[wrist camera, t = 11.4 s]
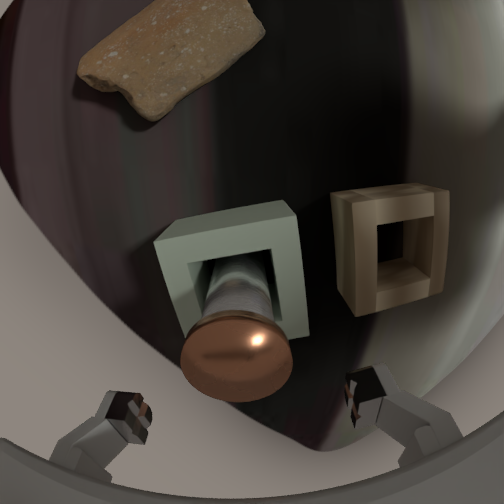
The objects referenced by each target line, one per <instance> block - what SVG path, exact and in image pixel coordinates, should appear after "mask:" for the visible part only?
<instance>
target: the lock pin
mask: <svg viewBox="0 0 504 504" xmlns="http://www.w3.org/2000/svg"><path fill="white" fill-rule="evenodd" d="M180 364H181V369H182V372H183V374H184V376H185V377H186V379H187V380H188V381H189V383H190V384H191V385H192V386H193V387H195V388H196V389H197V390H198V391H200V392H202V393H203V394H205V395H207V396H210V397H212V398H215V399H219V400H223V401H229V402H248V401H254V400H258V399H261V398H264V397H266V396H268V395H270V394H272V393H274V392H275V391H277V390H278V389H279V388H281V387H282V386H283V385H284V384H285V382H286V381H287V380H288V378H289V376H290V374H291V371H292V366H293V360H292V355H291V350H290V346H289V342H288V339H287V336H286V334H285V333H284V331H283V330H282V329H281V328H280V326H278V325H277V324H276V323H275V322H274V316H273V311H272V305H271V299H270V293H269V288H268V282H267V276H266V271H265V265H264V260H263V255H262V252H261V250H260V251H254V252H248V253H243V254H237V255H231V256H226V257H220V258H216V262H215V266H214V270H213V274H212V277H211V281H210V285H209V289H208V293H207V297H206V301H205V305H204V309H203V313H202V317H201V320H199V321H198V322H197V323H195V324H194V325H193V326H192V328H191V329H190V330H189V332H188V334H187V336H186V338H185V342H184V345H183V348H182V352H181V357H180Z"/></svg>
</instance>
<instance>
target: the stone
mask: <svg viewBox="0 0 504 504" xmlns="http://www.w3.org/2000/svg"><path fill="white" fill-rule="evenodd" d="M264 35H265V29H264V28H263V26H262V23H261V22H260V21H259V20H258V19H257V18H256V16H255V15H254V14H253V10H252V8H251V6H250V4H249V3H248V1H247V0H155V1H153V2H152V3H151V4H150V5H148V6H147V7H146V8H144V9H143V10H142V11H141V12H139V13H138V14H137V15H135V16H134V17H132V18H131V19H129V20H128V21H127V22H125V23H124V24H123V25H121V26H120V27H119V28H117V29H116V30H115V31H113V32H112V33H111V34H110V35H109V36H107V37H106V38H104V39H103V40H102V41H101V42H99V43H98V44H97V45H96V46H95V47H94V48H92V49H91V50H90V51H88V52H87V53H86V54H85V55H84V56H83V57H82V58H81V59H80V61H79V66H78V69H77V75H78V76H79V77H80V78H81V79H82V80H84V81H85V82H86V83H87V84H88V85H89V86H91V87H93V88H95V89H97V90H99V91H101V92H114V91H119V92H121V93H122V94H123V95H124V96H125V98H126V99H127V101H128V102H129V103H130V105H131V106H132V107H133V108H134V109H135V110H136V111H137V113H138V114H139V115H140V116H142V117H143V118H145V119H146V120H148V121H151V122H152V121H158V120H159V119H161V118H162V117H163V116H164V115H166V114H167V113H168V112H169V111H171V110H172V109H173V108H174V106H175V105H176V104H177V103H178V102H180V101H181V100H182V99H183V98H185V97H186V96H188V95H189V94H191V93H192V92H194V91H195V90H197V89H198V88H200V87H201V86H203V85H204V84H206V83H208V82H210V81H212V80H213V79H215V78H216V77H218V76H219V75H220V74H221V73H223V72H225V71H226V70H227V69H228V68H229V67H230V66H231V65H232V64H234V63H235V62H236V61H237V60H238V59H239V58H240V57H241V56H242V55H244V54H245V53H246V52H248V51H249V50H250V49H251V48H252V47H253V46H254V45H255V44H257V42H258V41H260V40H261V39H262V38H263V36H264Z"/></svg>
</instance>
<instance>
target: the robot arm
mask: <svg viewBox="0 0 504 504" xmlns="http://www.w3.org/2000/svg"><path fill="white" fill-rule="evenodd" d="M345 379H346V382H347V384H346V385H345V390H344V393H345V400H346V404H347V407H348V408H349V409H350V410H351V416H350V417H351V420H352V423H353V426H354V429H359V428H363V427H367V426H370V425H374V424H376V426H378V427H379V428H380V429H381V430H383V431H384V432H386V433H387V434H388V435H389V436H391V437H392V438H393V439H395V440H396V441H398V442H399V443H400V444H402V445H403V446H404V447H406V448H405V450H404V452H403V454H402V455H401V457H400V458H399V460H398V463H399V466H400V468H398V469H395V470H392V471H390V472H387V473H384V474H381V475H378V476H375V477H372V478H368V479H365V480H362V481H358V482H354V483H351V484H347V485H343V486H338V487H334V488H330V489H325V490H319V491H314V492H308V493H302V494H295V495H287V496H277V497H265V498H246V499H217V498H215V499H214V498H198V497H197V498H196V497H186V496H176V495H169V494H162V493H155V492H150V491H144V490H139V489H134V488H130V487H125V486H121V485H117V484H114V483H111V480H112V476H111V474H110V473H108V472H107V471H106V470H105V469H104V468H105V467H106V466H107V465H108V464H109V463H110V462H111V461H112V460H113V459H114V458H115V457H116V456H117V455H118V454H119V453H120V452H121V451H122V450H123V449H124V448H125V447H126V445H128V443H133V444H143V445H145V442H146V439H147V436H148V431H147V429H146V428H148V427H149V426H150V425H151V422H152V412H151V409H150V407H149V406H148V405H147V404H146V403H144V402H143V399H144V398H143V397H142V395H141V394H140V393H132V392H120V391H108V392H107V393H106V395H105V397H104V399H103V401H102V403H101V405H100V407H99V409H98V411H97V413H96V415H95V417H91V418H89V419H88V420H87V421H85V422H84V423H83V424H81V425H80V426H78V427H77V428H76V429H74V430H73V431H71V432H70V433H68V434H67V435H66V436H64V437H63V438H61V439H60V440H58V442H57V444H56V446H55V448H54V450H53V453H52V455H51V457H50V459H49V461H48V460H46V459H44V458H42V457H39V456H37V455H35V454H33V453H31V452H29V451H27V450H25V449H23V448H22V447H20V446H17V445H16V444H14V443H13V442H11V441H9V440H7V439H5V438H0V504H504V411H503V412H501V413H500V414H499V415H497V416H496V417H494V418H493V419H492V420H490V421H489V422H487V423H486V424H484V425H483V426H481V427H479V428H478V429H476V430H475V431H473V432H472V433H470V434H468V435H467V436H465V437H463V436H462V434H461V432H460V430H459V428H458V426H457V425H456V423H455V421H454V419H453V418H452V416H451V414H450V413H449V412H447V411H444V410H442V409H440V408H438V407H436V406H434V405H432V404H430V403H428V402H426V401H424V400H422V399H420V398H418V397H416V396H414V395H412V394H410V393H408V392H406V391H405V390H403V391H400V389H399V388H398V386H397V384H396V382H395V380H394V378H393V376H392V375H391V373H390V371H389V369H388V367H387V365H386V364H385V363H384V362H382V363H379V364H375V365H372V366H368V367H364V368H361V369H357V370H353V371H349V372H346V376H345Z"/></svg>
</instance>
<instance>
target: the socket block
mask: <svg viewBox="0 0 504 504" xmlns="http://www.w3.org/2000/svg"><path fill="white" fill-rule="evenodd" d="M154 246H155V249H156V252H157V256H158V259H159V263H160V266H161V269H162V272H163V276H164V279H165V282H166V285H167V288H168V291H169V294H170V297H171V300H172V303H173V306H174V309H175V311H176V314H177V317H178V320H179V323H180V325H181V328H182V331H183V333H184V336H185V338H186V336H187V334H188V332H189V330H190V329H191V328H192V326H193V325H194V324H195V323H197V322H198V321H199V320H201V317H202V313H203V309H204V305H205V301H206V297H207V293H208V289H209V285H210V281H211V275H210V271H209V268H208V264H207V260H208V259H214V258H220V257H226V256H231V255H237V254H243V253H248V252H254V251H260V250H266V249H269V254H270V260H271V266H272V272H273V278H274V283H272V284H268V288H269V293H270V299H271V305H272V311H273V316H274V322H275V323H276V324H277V325H278V326H280V328H281V329H282V330H283V331H284V333H285V334H286V336H287V339H288V340H289V339H294V338H300V337H305V336H309V325H308V314H307V303H306V293H305V283H304V273H303V265H302V256H301V248H300V240H299V232H298V224H297V217H296V214H295V213H294V212H293V211H292V210H291V209H290V207H289V206H288V205H287V204H286V203H285V202H284V201H283V200H279V201H273V202H267V203H262V204H256V205H250V206H245V207H239V208H234V209H228V210H223V211H218V212H213V213H208V214H203V215H198V216H193V217H188V218H183V219H179V220H175V221H174V222H173V223H172V224H171V225H170V226H169V227H168V228H167V229H166V230H165V231H164V232H163V233H162V234H161V235H160V236H159V237H158V238H157V239H156V240H155V241H154Z"/></svg>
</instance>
